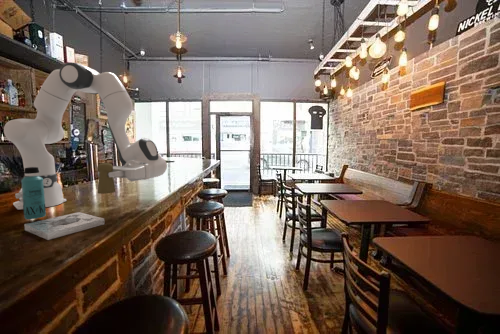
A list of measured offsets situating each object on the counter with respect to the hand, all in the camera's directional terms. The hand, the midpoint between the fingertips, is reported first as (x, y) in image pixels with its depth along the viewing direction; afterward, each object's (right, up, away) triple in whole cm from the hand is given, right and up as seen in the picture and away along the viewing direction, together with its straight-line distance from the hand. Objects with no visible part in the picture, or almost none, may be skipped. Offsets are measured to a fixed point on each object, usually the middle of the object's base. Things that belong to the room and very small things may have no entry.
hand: (103, 174), depth 98 cm
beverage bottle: (-25, -17, -1) cm, 30 cm away
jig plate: (-8, -18, -8) cm, 21 cm away
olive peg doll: (0, -7, +2) cm, 7 cm away
